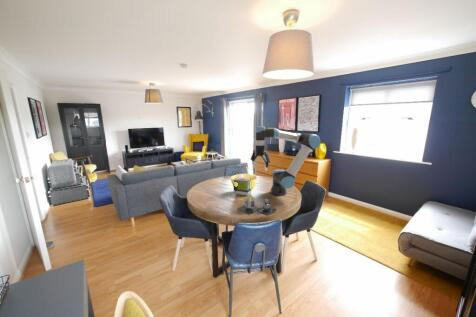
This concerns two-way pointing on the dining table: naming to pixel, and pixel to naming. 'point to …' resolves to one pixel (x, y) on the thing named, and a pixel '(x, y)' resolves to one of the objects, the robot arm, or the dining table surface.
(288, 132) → the robot arm
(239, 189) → the tea box
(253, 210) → the hub
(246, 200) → the ring
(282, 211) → the dining table surface
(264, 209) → the stand
